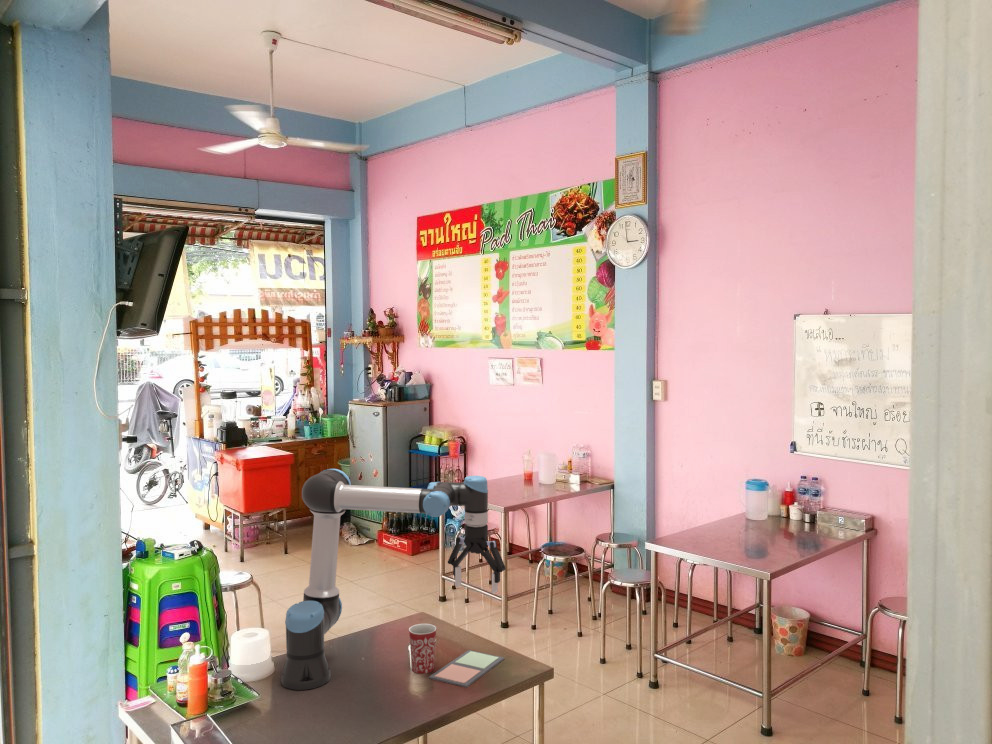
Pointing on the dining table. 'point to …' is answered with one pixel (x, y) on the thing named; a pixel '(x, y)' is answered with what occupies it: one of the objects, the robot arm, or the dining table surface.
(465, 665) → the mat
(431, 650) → the mug
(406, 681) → the dining table surface
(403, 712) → the dining table surface
